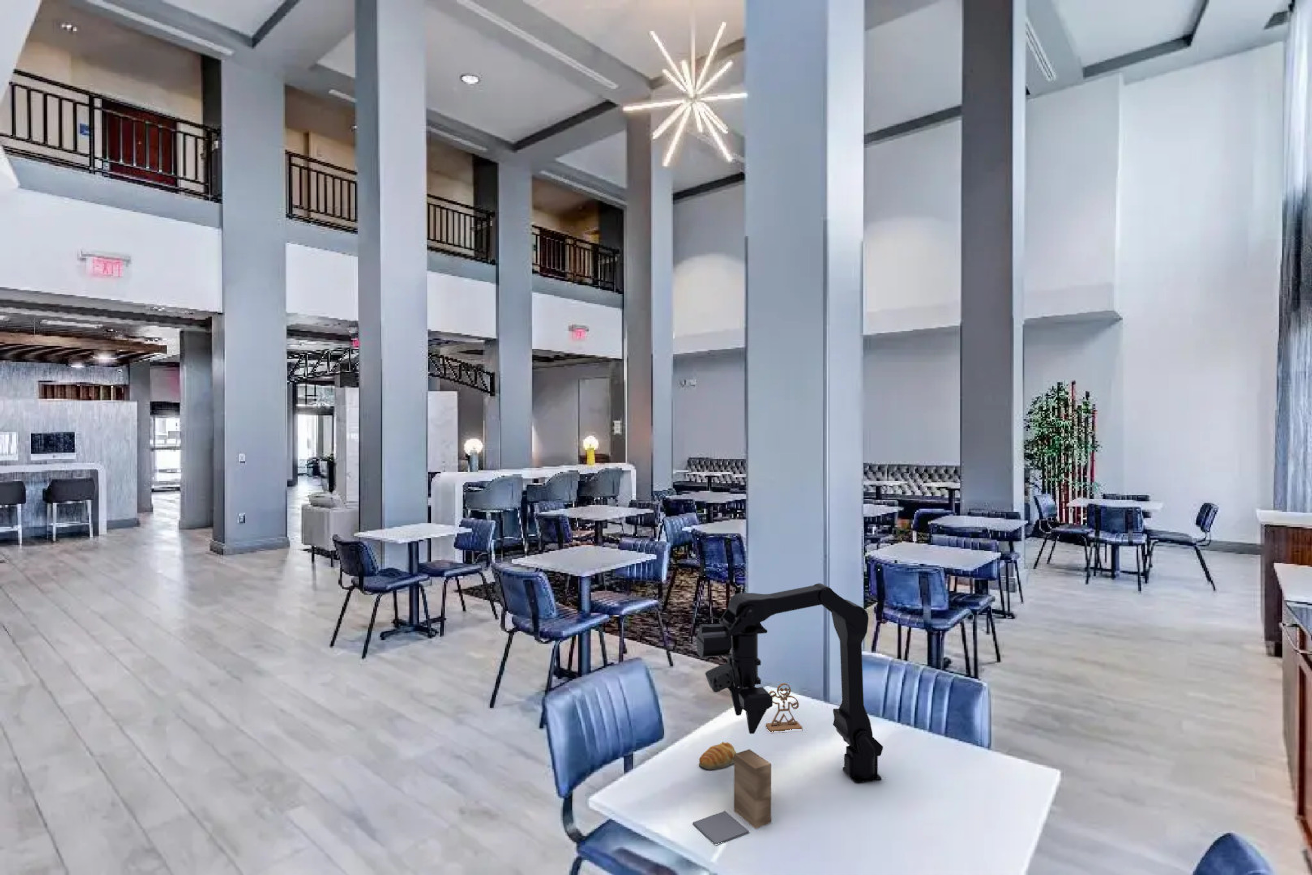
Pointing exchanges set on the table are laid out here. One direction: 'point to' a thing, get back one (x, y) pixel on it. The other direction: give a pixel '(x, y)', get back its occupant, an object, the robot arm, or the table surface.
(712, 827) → the mat
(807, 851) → the table surface
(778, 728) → the gingerbread man figurine
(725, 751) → the pastry
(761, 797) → the block
